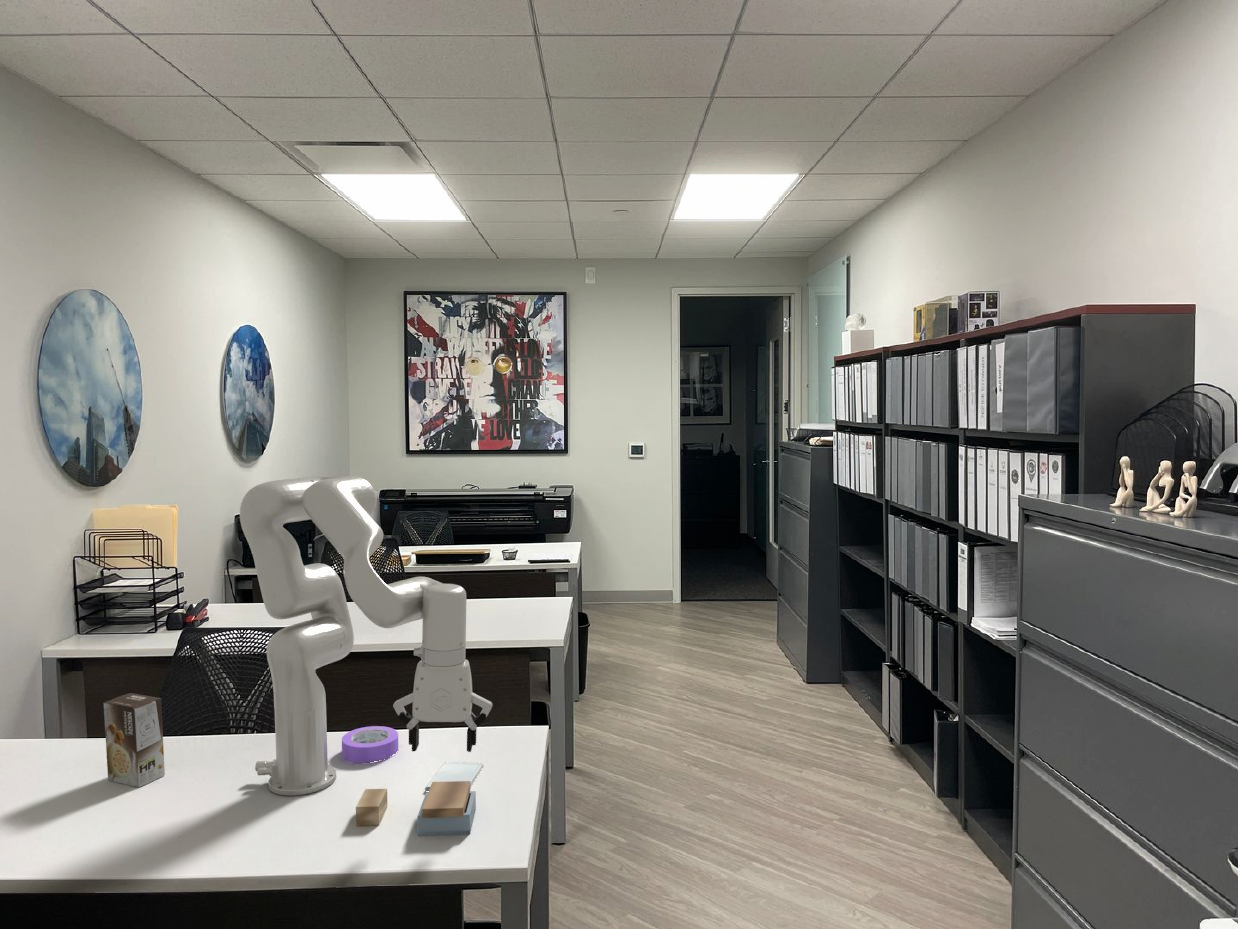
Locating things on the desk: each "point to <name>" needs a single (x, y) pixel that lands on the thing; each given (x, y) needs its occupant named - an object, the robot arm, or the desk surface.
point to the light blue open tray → (448, 820)
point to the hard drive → (457, 772)
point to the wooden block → (371, 807)
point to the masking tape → (369, 744)
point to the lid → (446, 799)
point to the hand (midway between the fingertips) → (442, 748)
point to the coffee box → (134, 739)
